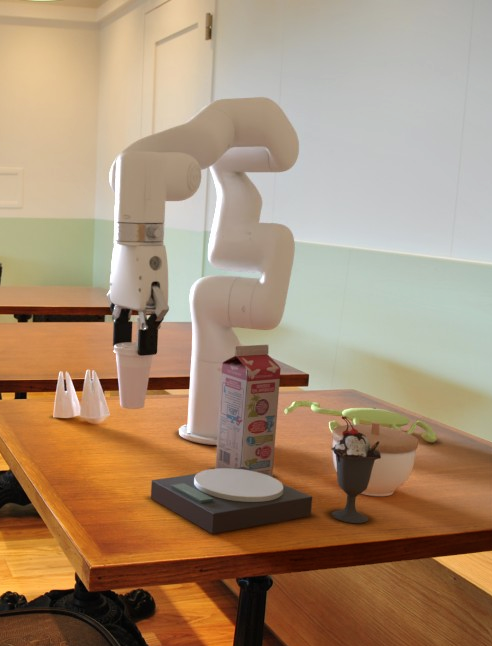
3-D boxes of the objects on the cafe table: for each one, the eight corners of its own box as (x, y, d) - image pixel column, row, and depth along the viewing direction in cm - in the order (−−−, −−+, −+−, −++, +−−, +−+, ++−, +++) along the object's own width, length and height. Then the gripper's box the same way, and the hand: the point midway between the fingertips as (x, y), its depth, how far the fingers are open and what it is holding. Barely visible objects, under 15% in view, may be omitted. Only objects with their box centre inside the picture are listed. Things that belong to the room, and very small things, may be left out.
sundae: (317, 509, 125) (325, 412, 122) (360, 508, 126) (369, 412, 123) (337, 526, 118) (346, 424, 116) (382, 525, 119) (392, 424, 117)
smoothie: (151, 412, 127) (155, 322, 125) (109, 409, 129) (112, 320, 126) (153, 402, 134) (157, 316, 131) (113, 399, 135) (116, 314, 132)
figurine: (273, 424, 174) (275, 398, 173) (387, 419, 179) (389, 394, 178) (323, 449, 156) (326, 420, 155) (447, 444, 161) (450, 416, 160)
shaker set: (111, 423, 171) (113, 370, 169) (100, 427, 168) (102, 374, 166) (62, 413, 178) (64, 363, 176) (51, 417, 175) (53, 365, 173)
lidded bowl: (406, 508, 126) (414, 438, 124) (320, 491, 133) (326, 425, 131) (417, 485, 137) (424, 420, 135) (336, 471, 143) (342, 409, 141)
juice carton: (215, 469, 143) (223, 343, 139) (246, 465, 145) (255, 341, 142) (240, 481, 137) (249, 349, 133) (272, 476, 139) (282, 347, 136)
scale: (242, 484, 135) (244, 461, 135) (310, 516, 122) (313, 491, 121) (150, 498, 128) (151, 475, 127) (212, 534, 115) (214, 508, 114)
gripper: (193, 237, 120) (187, 359, 123) (129, 231, 136) (125, 339, 139) (150, 238, 117) (145, 363, 120) (89, 232, 132) (86, 342, 136)
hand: (134, 349), depth 130 cm, fingers closed on smoothie, 6 cm apart
